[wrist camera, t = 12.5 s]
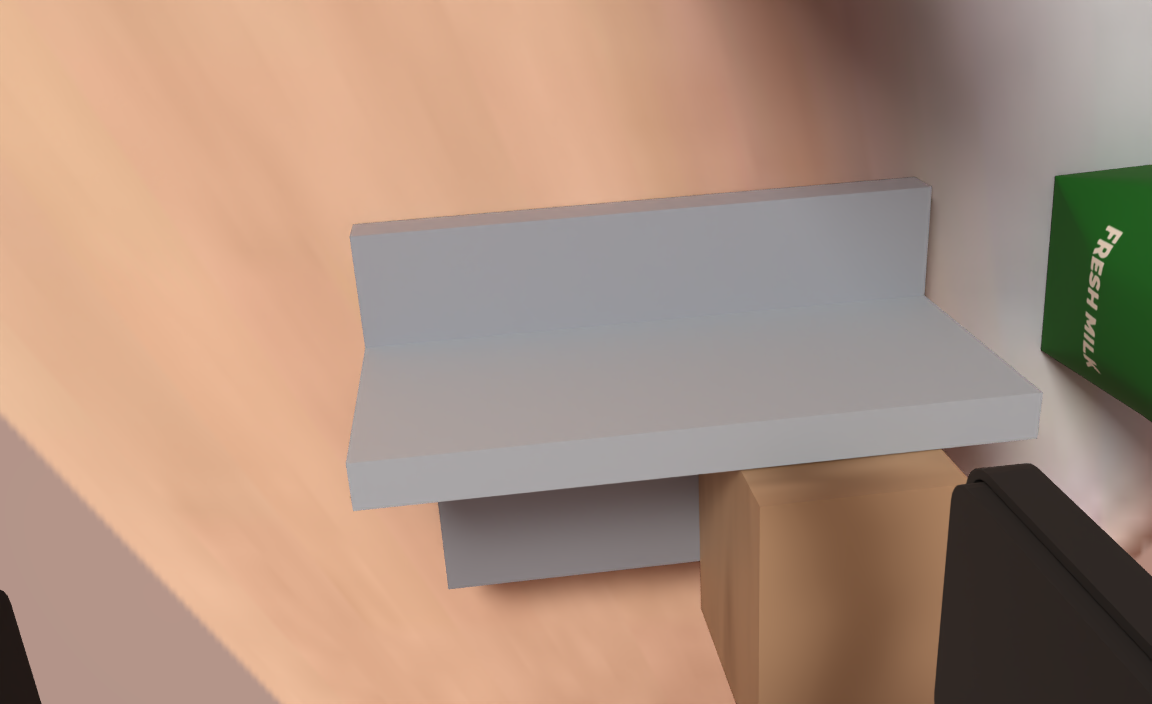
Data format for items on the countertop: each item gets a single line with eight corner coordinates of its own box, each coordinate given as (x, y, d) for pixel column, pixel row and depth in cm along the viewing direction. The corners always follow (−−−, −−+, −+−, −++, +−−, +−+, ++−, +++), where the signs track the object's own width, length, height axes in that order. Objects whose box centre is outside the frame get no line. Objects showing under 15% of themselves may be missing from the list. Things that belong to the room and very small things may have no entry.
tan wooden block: (868, 369, 38) (972, 483, 30) (857, 606, 42) (947, 758, 34) (697, 386, 37) (760, 506, 30) (701, 624, 41) (758, 783, 34)
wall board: (914, 176, 40) (1058, 260, 30) (895, 481, 44) (1014, 633, 35) (353, 224, 38) (324, 328, 29) (396, 535, 43) (384, 710, 34)
